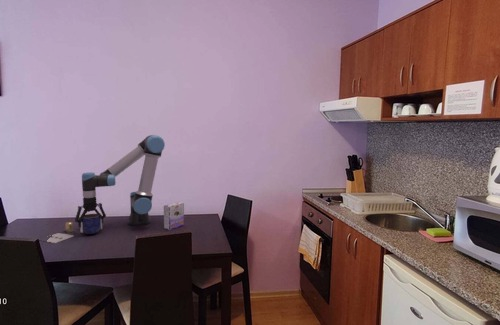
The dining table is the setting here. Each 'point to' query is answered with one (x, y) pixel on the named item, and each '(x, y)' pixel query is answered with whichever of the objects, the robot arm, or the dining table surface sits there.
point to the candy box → (173, 215)
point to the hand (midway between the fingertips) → (91, 230)
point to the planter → (91, 223)
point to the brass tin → (69, 227)
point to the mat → (59, 237)
